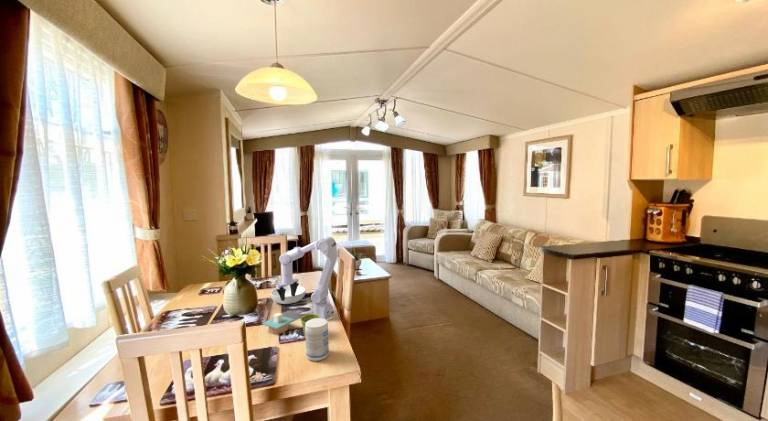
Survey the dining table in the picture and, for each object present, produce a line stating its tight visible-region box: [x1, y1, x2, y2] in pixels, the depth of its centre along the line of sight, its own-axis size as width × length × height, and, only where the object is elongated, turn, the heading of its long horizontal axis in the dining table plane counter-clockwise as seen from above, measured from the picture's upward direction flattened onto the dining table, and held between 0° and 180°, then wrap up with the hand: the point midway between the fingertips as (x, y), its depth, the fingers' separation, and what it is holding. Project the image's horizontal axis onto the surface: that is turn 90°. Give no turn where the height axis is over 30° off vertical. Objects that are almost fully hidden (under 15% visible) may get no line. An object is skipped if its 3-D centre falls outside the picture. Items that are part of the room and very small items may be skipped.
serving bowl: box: [269, 285, 307, 305], centre depth 198 cm, size 21×21×7 cm
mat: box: [270, 310, 306, 322], centre depth 175 cm, size 13×13×1 cm
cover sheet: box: [261, 312, 295, 329], centre depth 160 cm, size 11×11×4 cm
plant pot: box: [299, 313, 320, 338], centre depth 154 cm, size 9×9×9 cm
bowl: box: [268, 324, 289, 335], centre depth 160 cm, size 9×9×4 cm
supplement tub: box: [304, 318, 330, 362], centre depth 136 cm, size 10×10×15 cm
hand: (288, 298), depth 178 cm, fingers open, 7 cm apart
